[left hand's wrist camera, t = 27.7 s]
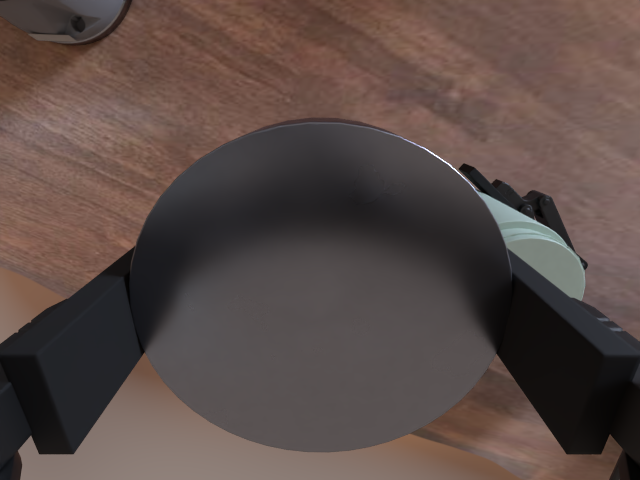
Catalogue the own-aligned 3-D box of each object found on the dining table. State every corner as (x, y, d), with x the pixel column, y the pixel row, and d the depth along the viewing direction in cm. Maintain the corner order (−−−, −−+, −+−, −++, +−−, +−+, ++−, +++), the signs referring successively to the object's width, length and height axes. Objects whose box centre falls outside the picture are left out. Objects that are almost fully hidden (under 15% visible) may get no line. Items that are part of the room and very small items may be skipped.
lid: (476, 83, 10) (518, 79, 8) (480, 380, 14) (509, 431, 12) (111, 154, 11) (59, 167, 8) (215, 417, 15) (197, 470, 12)
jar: (431, 268, 45) (504, 377, 27) (378, 218, 43) (418, 299, 25) (494, 214, 42) (621, 294, 24) (440, 157, 40) (537, 199, 22)
